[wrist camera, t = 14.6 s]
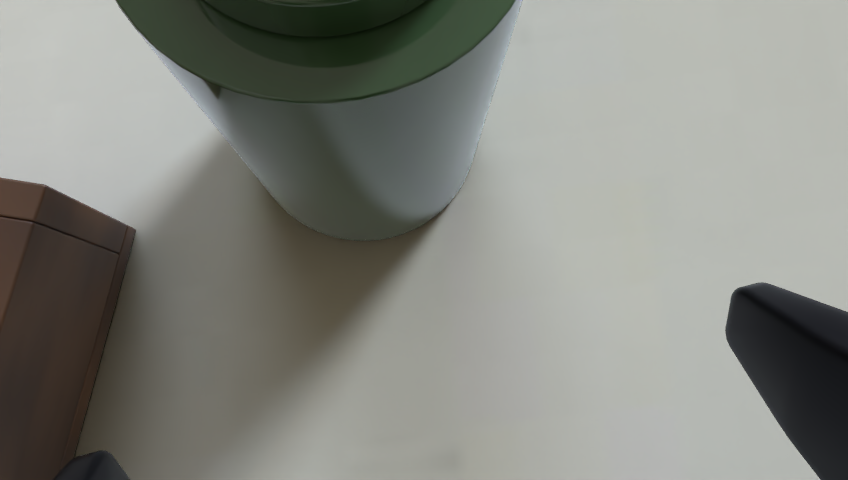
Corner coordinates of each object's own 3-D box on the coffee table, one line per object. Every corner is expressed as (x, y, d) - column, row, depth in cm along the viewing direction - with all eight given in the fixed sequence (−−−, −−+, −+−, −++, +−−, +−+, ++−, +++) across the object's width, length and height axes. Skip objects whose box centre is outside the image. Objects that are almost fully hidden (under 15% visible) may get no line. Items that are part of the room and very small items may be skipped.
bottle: (396, 285, 15) (365, 99, 5) (208, 162, 16) (-212, -257, 5) (516, 104, 17) (715, -379, 6) (337, -3, 17) (216, -622, 6)
